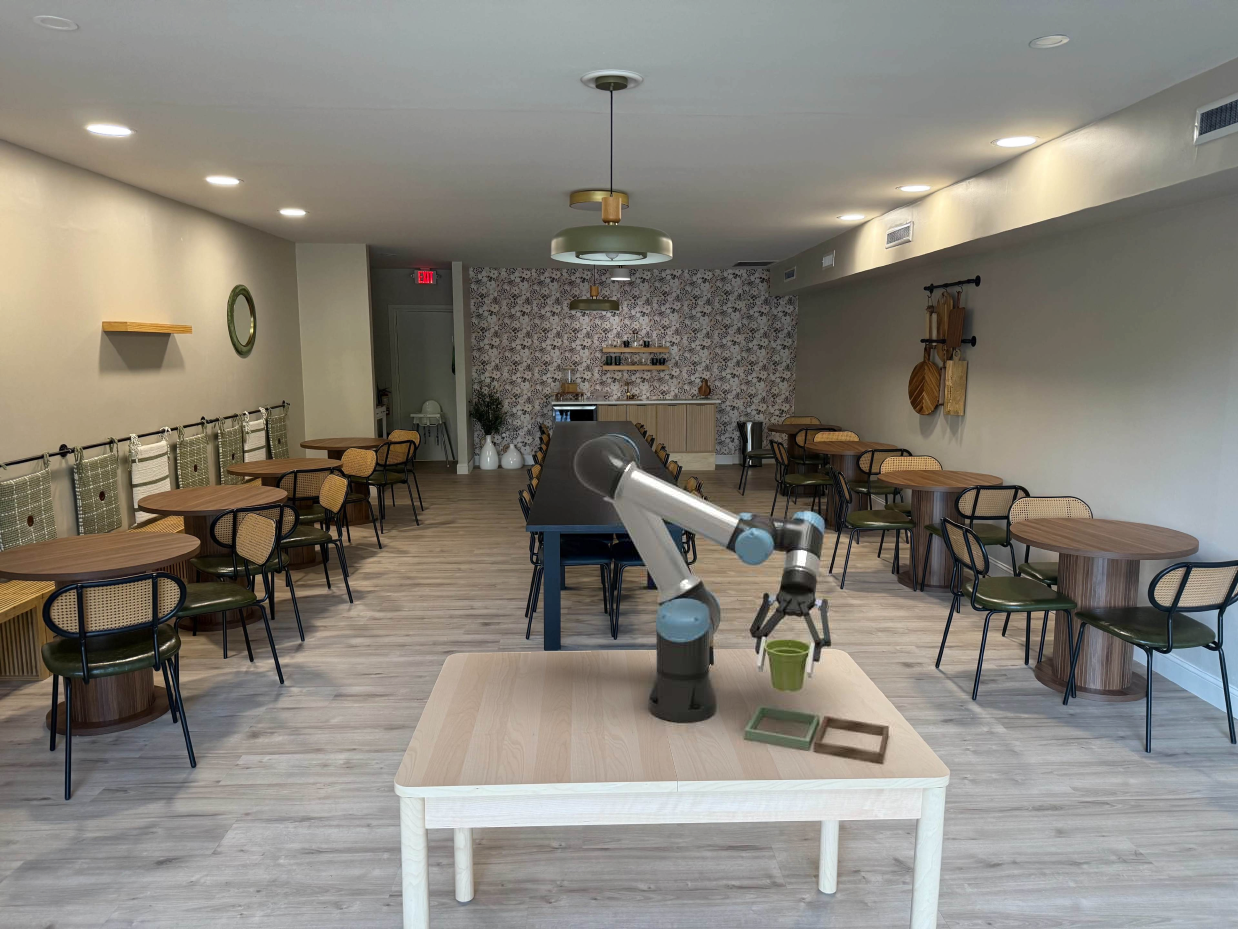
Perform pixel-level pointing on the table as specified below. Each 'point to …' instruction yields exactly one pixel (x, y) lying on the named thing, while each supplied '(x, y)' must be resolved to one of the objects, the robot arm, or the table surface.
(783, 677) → the plant pot
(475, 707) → the table surface
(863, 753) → the walnut collar
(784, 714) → the sage green collar
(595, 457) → the robot arm
